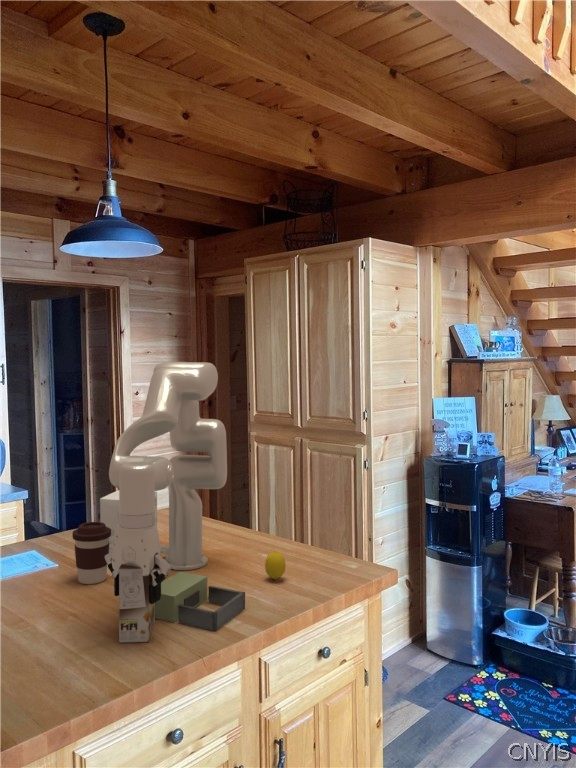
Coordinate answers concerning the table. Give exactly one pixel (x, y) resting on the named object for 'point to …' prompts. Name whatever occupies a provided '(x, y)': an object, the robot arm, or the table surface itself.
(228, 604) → the frame
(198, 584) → the sage green box
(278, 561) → the lemon
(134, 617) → the coffee box
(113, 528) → the supplement box
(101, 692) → the table surface
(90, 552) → the coffee cup
